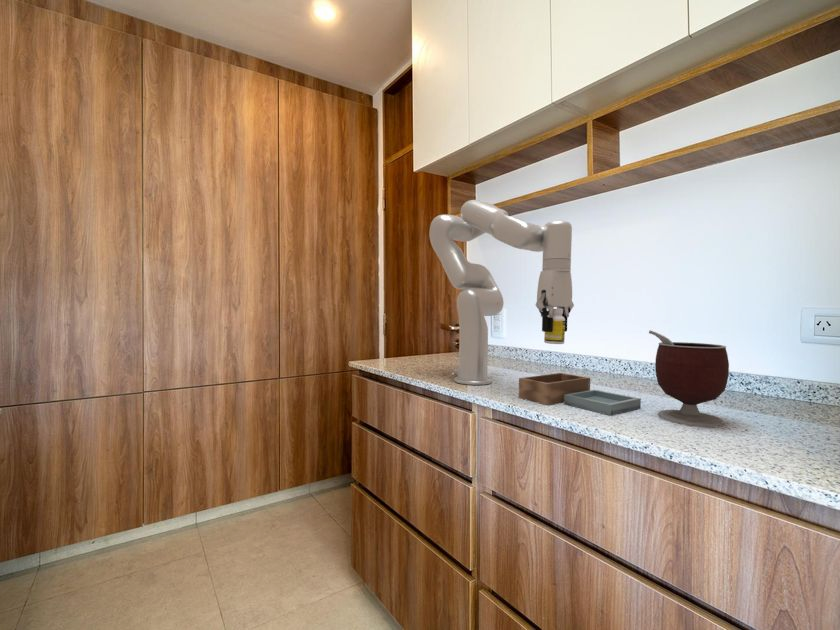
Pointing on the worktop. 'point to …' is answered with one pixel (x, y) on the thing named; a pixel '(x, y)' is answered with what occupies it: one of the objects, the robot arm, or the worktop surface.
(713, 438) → the worktop surface
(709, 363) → the mate gourd
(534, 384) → the holder
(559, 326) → the supplement bottle
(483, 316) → the robot arm
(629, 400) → the tray
